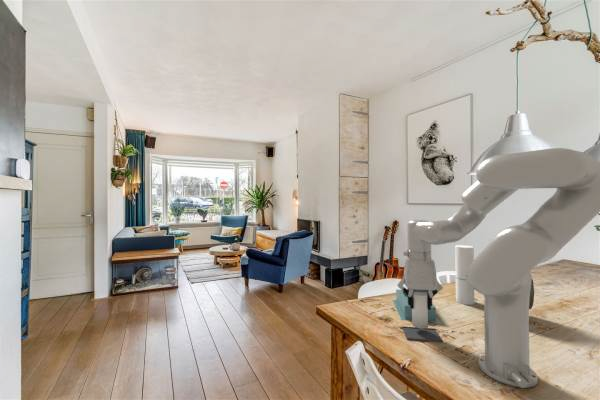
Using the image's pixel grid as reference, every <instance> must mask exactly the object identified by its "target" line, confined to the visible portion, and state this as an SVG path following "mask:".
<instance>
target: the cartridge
mask: <svg viewBox="0 0 600 400" xmlns="http://www.w3.org/2000/svg"><path fill="white" fill-rule="evenodd" d="M412 297H413V309H412V322H411V325H412V327H416V328H420V329H426V328H429V322H428V291H427V290H413V293H412Z"/></svg>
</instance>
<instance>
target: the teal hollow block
mask: <svg viewBox="0 0 600 400" xmlns="http://www.w3.org/2000/svg"><path fill="white" fill-rule="evenodd" d="M395 298H396V299H392V302H393V305H394V306H395V309H396V311H397V313H398V315H399V318H400V320H401V321H412V309H411V307H410V306H409V305H408V295H407V294H406V293H405V292H404V291H403V290H401V289H397V288H396V289H395ZM436 309H437V308H436V306H435V305H434V303H432V306H431V310H429V309H428V323H429V322H432V323H441V320H440V319H439V317H438V316H437V313H436V311H437V310H436Z"/></svg>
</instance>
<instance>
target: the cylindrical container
mask: <svg viewBox="0 0 600 400" xmlns="http://www.w3.org/2000/svg"><path fill="white" fill-rule="evenodd" d="M474 250H475V249H474V246H472V245H466V244H465V245H464V244H456V245H455V246H454V253H455V254H454V255H455V256H454V258H455V269H454V270H455V302H456V303H458V304H461V305H465V306H473V305H475V289H474V288H473V287H472V286H471V284H470V282H469V279H468V269H469V267H470V265H471V263H472V262H473V261H474V260H475V255H474V254H475V253H474V252H475V251H474Z"/></svg>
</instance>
